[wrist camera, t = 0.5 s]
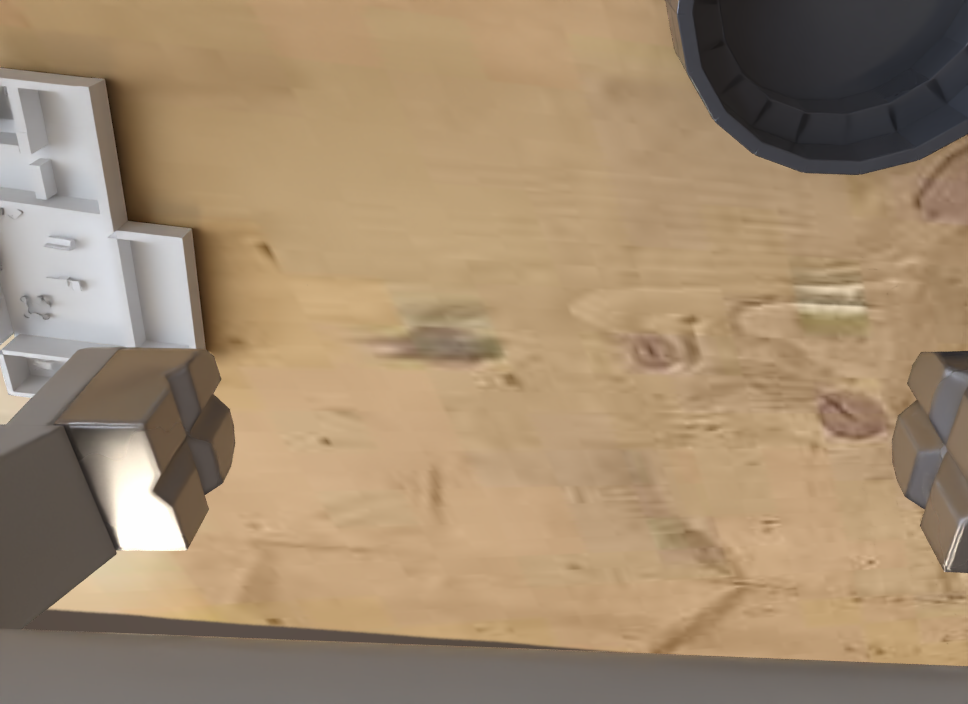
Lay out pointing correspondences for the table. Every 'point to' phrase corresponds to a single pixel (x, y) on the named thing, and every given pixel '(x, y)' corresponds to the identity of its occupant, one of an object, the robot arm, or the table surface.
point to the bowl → (829, 77)
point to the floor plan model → (79, 238)
